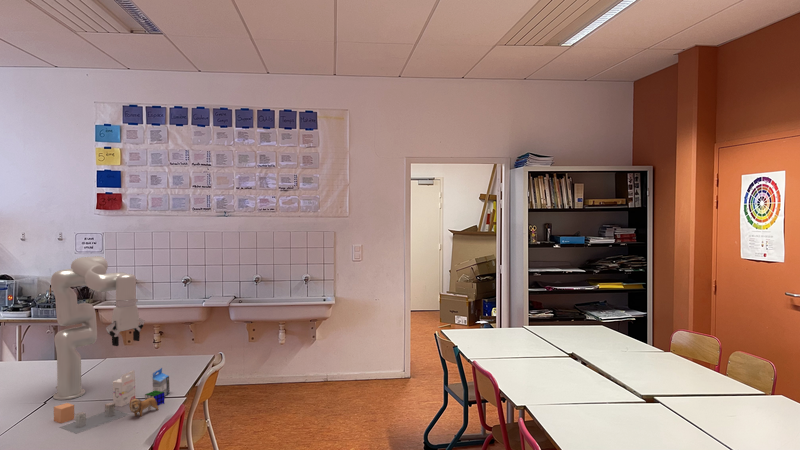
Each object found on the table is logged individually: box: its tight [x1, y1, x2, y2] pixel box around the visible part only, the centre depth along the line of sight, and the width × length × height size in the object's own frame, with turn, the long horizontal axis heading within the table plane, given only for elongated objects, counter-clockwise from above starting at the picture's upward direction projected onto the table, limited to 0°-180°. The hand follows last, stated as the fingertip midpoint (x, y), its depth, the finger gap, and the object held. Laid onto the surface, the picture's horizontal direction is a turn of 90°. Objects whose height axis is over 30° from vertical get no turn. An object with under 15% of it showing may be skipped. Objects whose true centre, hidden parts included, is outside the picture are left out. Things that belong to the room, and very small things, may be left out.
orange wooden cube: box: [53, 402, 75, 424], centre depth 210 cm, size 5×5×7 cm
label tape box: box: [152, 367, 171, 397], centre depth 240 cm, size 9×4×12 cm, turn 179°
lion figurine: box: [128, 398, 159, 418], centre depth 217 cm, size 15×5×9 cm, turn 163°
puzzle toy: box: [144, 390, 165, 407], centre depth 228 cm, size 6×6×6 cm
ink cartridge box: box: [112, 369, 136, 407], centre depth 229 cm, size 9×5×15 cm, turn 168°
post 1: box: [74, 411, 87, 428], centre depth 204 cm, size 3×3×5 cm
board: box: [58, 409, 131, 434], centre depth 209 cm, size 12×22×1 cm, turn 151°
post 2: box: [104, 401, 116, 417], centre depth 214 cm, size 3×3×5 cm
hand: (126, 343), depth 217 cm, fingers open, 9 cm apart
